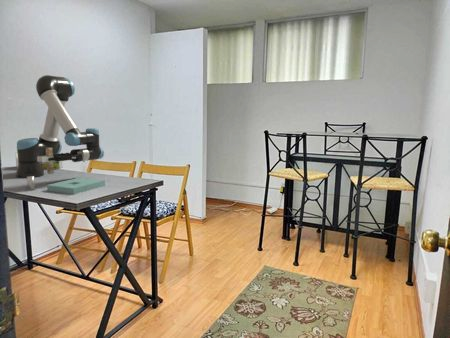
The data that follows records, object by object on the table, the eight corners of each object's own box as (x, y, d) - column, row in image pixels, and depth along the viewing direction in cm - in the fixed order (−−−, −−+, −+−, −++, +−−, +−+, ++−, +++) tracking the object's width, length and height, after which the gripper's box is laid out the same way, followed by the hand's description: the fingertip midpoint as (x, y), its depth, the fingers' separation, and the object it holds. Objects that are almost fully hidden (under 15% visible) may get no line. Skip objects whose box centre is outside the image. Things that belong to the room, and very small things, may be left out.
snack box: (29, 168, 226) (27, 147, 223) (34, 167, 232) (32, 146, 229) (59, 169, 226) (57, 148, 223) (63, 167, 232) (61, 147, 229)
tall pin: (46, 173, 175) (44, 148, 172) (51, 172, 178) (49, 147, 175) (50, 173, 174) (48, 148, 171) (55, 172, 177) (53, 147, 174)
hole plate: (47, 190, 164) (47, 185, 164) (80, 182, 185) (80, 177, 184) (74, 194, 158) (73, 188, 158) (105, 185, 179) (104, 180, 178)
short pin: (26, 189, 165) (25, 176, 164) (32, 188, 168) (31, 175, 167) (30, 190, 164) (29, 177, 163) (36, 189, 167) (35, 176, 165)
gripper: (88, 162, 186) (48, 168, 166) (71, 160, 194) (31, 164, 174) (87, 150, 185) (47, 154, 165) (70, 147, 193) (30, 151, 173)
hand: (39, 159), depth 170 cm, fingers closed on tall pin, 3 cm apart
